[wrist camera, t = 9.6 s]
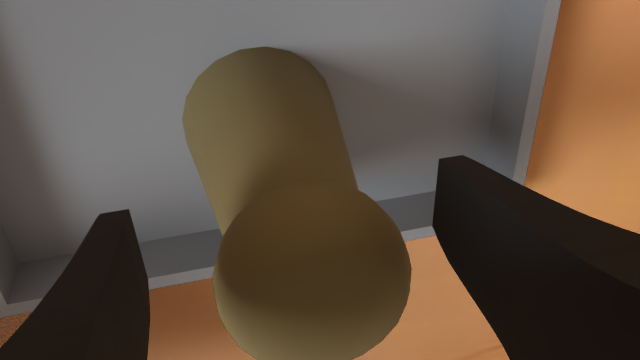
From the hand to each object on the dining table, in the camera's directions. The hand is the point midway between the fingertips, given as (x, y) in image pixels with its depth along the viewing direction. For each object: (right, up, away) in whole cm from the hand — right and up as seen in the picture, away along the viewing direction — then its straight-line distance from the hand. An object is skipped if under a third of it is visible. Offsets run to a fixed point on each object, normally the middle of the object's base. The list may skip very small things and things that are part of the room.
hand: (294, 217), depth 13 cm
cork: (-2, +3, +10) cm, 10 cm away
